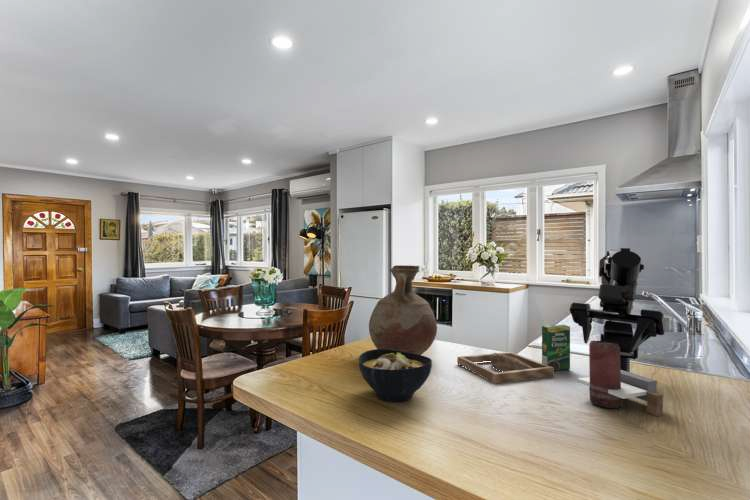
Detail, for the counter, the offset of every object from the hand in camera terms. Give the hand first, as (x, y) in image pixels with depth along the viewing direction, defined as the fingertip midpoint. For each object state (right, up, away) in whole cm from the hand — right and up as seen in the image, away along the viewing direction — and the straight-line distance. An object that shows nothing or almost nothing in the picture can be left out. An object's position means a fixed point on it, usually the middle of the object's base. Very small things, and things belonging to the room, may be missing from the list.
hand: (607, 346), depth 85 cm
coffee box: (+1, -14, +27) cm, 30 cm away
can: (0, -14, 0) cm, 14 cm away
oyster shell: (-12, -14, +26) cm, 32 cm away
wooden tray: (-15, -13, +25) cm, 32 cm away
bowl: (-49, -13, +3) cm, 50 cm away
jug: (-44, -13, +34) cm, 57 cm away
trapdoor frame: (+5, -14, +3) cm, 15 cm away
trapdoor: (+3, -12, +2) cm, 12 cm away
